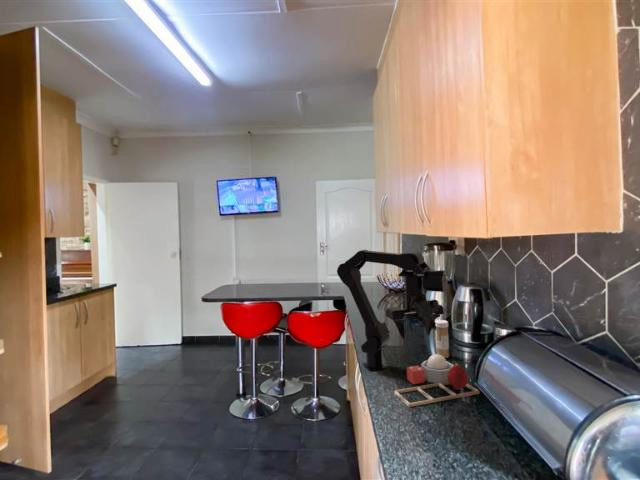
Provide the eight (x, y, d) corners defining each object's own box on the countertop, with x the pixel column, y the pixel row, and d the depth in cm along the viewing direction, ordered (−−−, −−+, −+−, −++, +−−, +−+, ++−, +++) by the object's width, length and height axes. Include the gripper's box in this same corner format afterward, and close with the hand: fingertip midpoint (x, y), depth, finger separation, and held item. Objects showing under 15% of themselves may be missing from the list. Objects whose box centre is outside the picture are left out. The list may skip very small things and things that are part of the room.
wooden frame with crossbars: (394, 393, 109) (393, 390, 109) (460, 381, 116) (459, 379, 116) (409, 407, 101) (408, 404, 101) (479, 393, 107) (479, 390, 107)
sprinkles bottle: (434, 354, 140) (433, 320, 140) (445, 353, 140) (444, 319, 140) (439, 359, 135) (438, 323, 135) (451, 358, 136) (450, 322, 135)
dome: (421, 370, 122) (421, 352, 122) (440, 367, 124) (440, 349, 124) (434, 378, 115) (433, 359, 115) (453, 375, 117) (453, 356, 117)
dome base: (403, 376, 122) (402, 362, 121) (441, 369, 125) (441, 356, 125) (418, 387, 112) (417, 373, 112) (459, 380, 116) (459, 366, 116)
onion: (463, 384, 113) (462, 359, 113) (471, 393, 107) (470, 366, 107) (445, 385, 113) (444, 360, 113) (452, 394, 107) (451, 367, 107)
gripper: (400, 296, 110) (402, 347, 111) (453, 291, 115) (455, 340, 116) (384, 291, 121) (385, 337, 122) (433, 286, 126) (435, 331, 127)
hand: (415, 336), depth 121 cm, fingers open, 9 cm apart
